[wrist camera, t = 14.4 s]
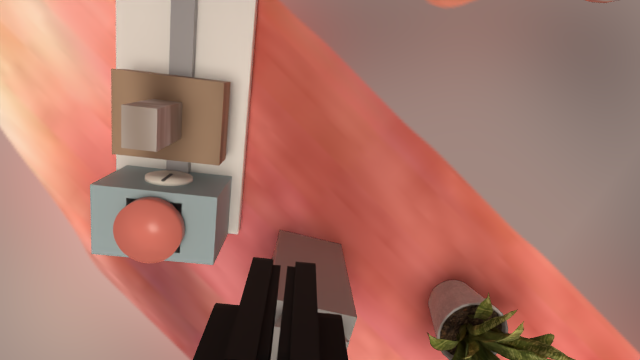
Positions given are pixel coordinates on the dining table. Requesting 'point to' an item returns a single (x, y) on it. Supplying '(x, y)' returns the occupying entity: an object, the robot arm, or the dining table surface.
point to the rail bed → (195, 67)
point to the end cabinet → (179, 190)
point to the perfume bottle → (329, 278)
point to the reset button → (149, 230)
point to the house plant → (480, 328)
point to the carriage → (169, 116)
